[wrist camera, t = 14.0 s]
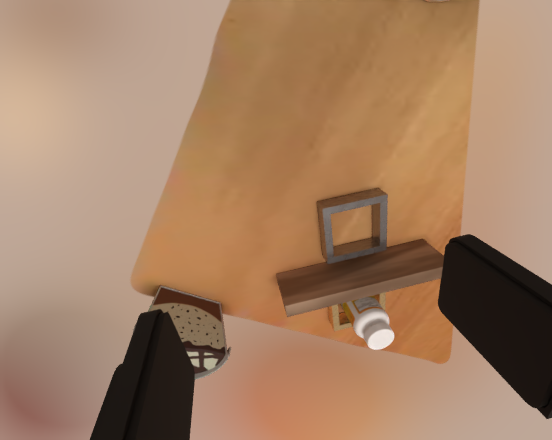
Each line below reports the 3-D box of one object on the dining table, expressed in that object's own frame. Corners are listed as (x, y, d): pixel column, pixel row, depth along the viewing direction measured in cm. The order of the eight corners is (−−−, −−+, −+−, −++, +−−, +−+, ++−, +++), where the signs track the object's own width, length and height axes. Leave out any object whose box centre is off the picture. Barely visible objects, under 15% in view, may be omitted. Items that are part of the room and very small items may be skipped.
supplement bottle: (354, 309, 50) (382, 357, 42) (331, 299, 48) (355, 348, 40) (374, 287, 49) (407, 332, 40) (351, 276, 47) (380, 320, 38)
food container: (135, 313, 43) (113, 374, 34) (149, 281, 41) (130, 338, 32) (213, 332, 47) (211, 391, 38) (229, 305, 45) (231, 360, 36)
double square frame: (316, 201, 40) (322, 209, 38) (378, 187, 41) (387, 194, 38) (329, 320, 50) (334, 331, 48) (377, 307, 51) (384, 318, 49)
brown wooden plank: (276, 274, 44) (285, 306, 38) (422, 238, 46) (454, 264, 40) (278, 284, 45) (287, 317, 39) (421, 249, 47) (452, 275, 41)
